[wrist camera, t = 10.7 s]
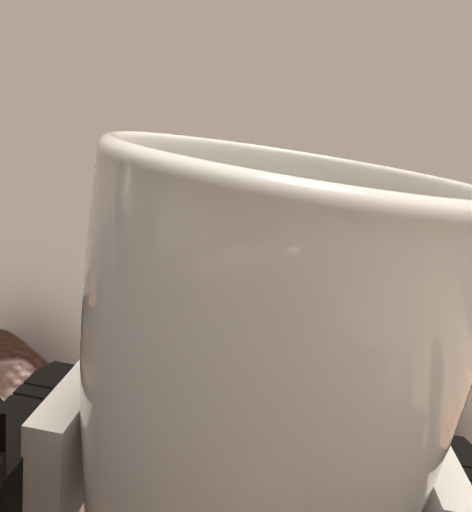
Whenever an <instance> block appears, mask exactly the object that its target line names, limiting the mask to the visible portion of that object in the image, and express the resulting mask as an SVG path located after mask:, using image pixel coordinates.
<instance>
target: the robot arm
mask: <svg viewBox="0 0 472 512" xmlns="http://www.w3.org/2000/svg"><path fill="white" fill-rule="evenodd" d="M83 503H84V491H83V472H82V452H81V426H80V360H79V361H78V362H77V363H76V364H75V365H73V364H68V363H62V362H57V361H54V362H52V363H50V364H47V365H45V366H43V367H41V368H39V369H37V370H36V371H35V372H34V373H33V374H32V375H31V376H30V377H28V378H27V379H26V380H25V381H24V383H23V385H20V386H19V387H18V388H17V389H16V390H15V391H14V392H13V395H10V396H9V397H8V398H7V399H6V400H5V401H3V400H2V399H1V398H0V512H79V510H80V508H81V506H82V505H83ZM422 512H472V444H471V443H470V442H469V441H467V440H466V439H465V438H464V437H461V436H455V435H454V438H453V441H452V443H451V446H450V448H449V451H448V453H447V456H446V459H445V461H444V463H443V466H442V468H441V471H440V473H439V475H438V478H437V480H436V482H435V485H434V487H433V489H432V492H431V494H430V496H429V498H428V500H427V503H426V505H425V507H424V509H423V511H422Z"/></svg>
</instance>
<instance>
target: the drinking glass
mask: <svg viewBox="0 0 472 512" xmlns="http://www.w3.org/2000/svg"><path fill="white" fill-rule="evenodd" d="M83 284H84V286H83V300H82V317H81V318H82V319H81V340H80V341H81V342H80V426H81V452H82V472H83V491H84V511H85V512H422V511H423V509H424V507H425V505H426V503H427V500H428V498H429V496H430V494H431V492H432V489H433V487H434V485H435V482H436V480H437V478H438V475H439V473H440V471H441V468H442V466H443V463H444V461H445V459H446V456H447V453H448V451H449V448H450V446H451V443H452V441H453V438H454V435H455V433H456V430H457V427H458V425H459V422H460V419H461V417H462V413H463V411H464V408H465V405H466V403H467V400H468V397H469V394H470V391H471V388H472V184H468V183H463V182H459V181H455V180H450V179H446V178H441V177H436V176H432V175H427V174H422V173H417V172H412V171H407V170H402V169H397V168H392V167H386V166H381V165H375V164H370V163H365V162H359V161H354V160H348V159H342V158H336V157H330V156H324V155H318V154H312V153H306V152H300V151H293V150H287V149H281V148H274V147H267V146H260V145H253V144H246V143H239V142H231V141H224V140H216V139H208V138H200V137H191V136H182V135H173V134H162V133H152V132H135V131H115V132H109V133H106V134H104V135H103V136H101V138H100V139H99V140H98V143H97V154H96V165H95V174H94V183H93V190H92V199H91V208H90V217H89V226H88V236H87V246H86V257H85V270H84V283H83Z"/></svg>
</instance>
